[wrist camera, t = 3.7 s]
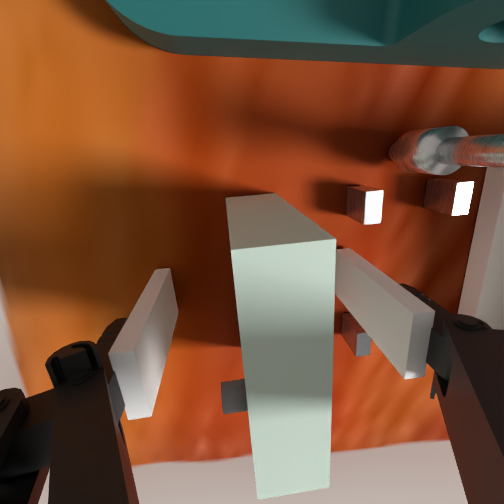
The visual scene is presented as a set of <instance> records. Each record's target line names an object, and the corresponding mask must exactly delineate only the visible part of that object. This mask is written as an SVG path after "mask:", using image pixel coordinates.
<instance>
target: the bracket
mask: <svg viewBox="0 0 504 504" xmlns="http://www.w3.org/2000/svg"><path fill="white" fill-rule="evenodd" d="M105 1H106V3H107V4H108V5H109V7H110V8H111V9H112V10H113V12H114V13H115V14H116V16H117V17H118V18H119V19H120V20H121V21H122V22H123V24H124V25H125V26H126V27H127V28H128V29H130V30H131V31H132V32H133V33H134V34H135V35H137V36H138V37H139V38H141V39H142V40H144V41H145V42H147V43H148V44H150V45H152V46H154V47H156V48H158V49H161V50H164V51H167V52H171V53H175V54H183V55H201V56H223V57H245V58H267V59H289V60H312V61H334V62H356V63H378V64H400V65H422V66H444V67H466V68H488V69H504V0H105Z"/></svg>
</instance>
